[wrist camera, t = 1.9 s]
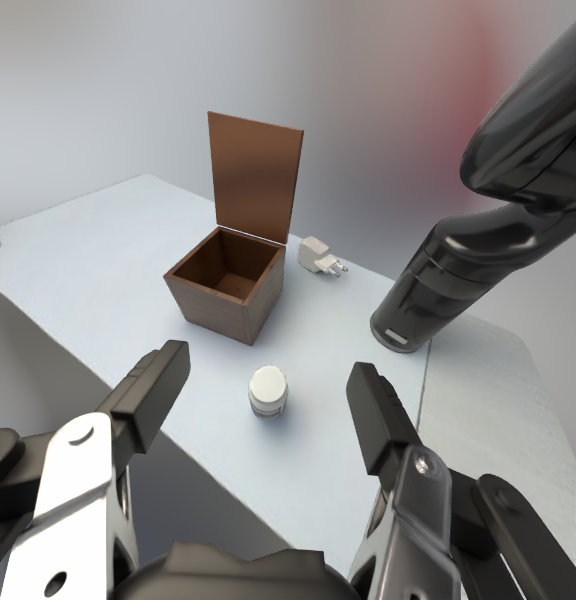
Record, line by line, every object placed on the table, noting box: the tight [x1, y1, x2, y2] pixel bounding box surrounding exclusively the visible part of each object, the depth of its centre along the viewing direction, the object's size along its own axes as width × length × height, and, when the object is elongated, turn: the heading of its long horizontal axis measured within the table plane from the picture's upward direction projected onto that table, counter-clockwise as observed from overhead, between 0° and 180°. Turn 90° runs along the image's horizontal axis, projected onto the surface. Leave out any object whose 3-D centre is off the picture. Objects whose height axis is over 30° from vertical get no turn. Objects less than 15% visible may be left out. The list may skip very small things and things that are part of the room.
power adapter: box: [298, 236, 348, 278], centre depth 45 cm, size 11×5×6 cm, turn 44°
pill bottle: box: [248, 365, 288, 420], centre depth 26 cm, size 5×5×8 cm
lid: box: [208, 111, 304, 245], centre depth 30 cm, size 14×13×1 cm
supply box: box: [163, 226, 286, 346], centre depth 36 cm, size 14×13×11 cm
